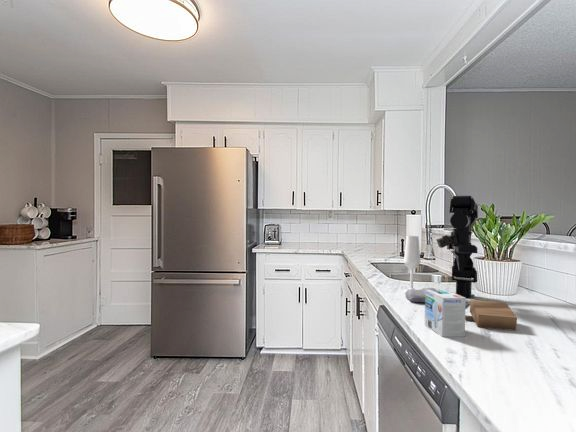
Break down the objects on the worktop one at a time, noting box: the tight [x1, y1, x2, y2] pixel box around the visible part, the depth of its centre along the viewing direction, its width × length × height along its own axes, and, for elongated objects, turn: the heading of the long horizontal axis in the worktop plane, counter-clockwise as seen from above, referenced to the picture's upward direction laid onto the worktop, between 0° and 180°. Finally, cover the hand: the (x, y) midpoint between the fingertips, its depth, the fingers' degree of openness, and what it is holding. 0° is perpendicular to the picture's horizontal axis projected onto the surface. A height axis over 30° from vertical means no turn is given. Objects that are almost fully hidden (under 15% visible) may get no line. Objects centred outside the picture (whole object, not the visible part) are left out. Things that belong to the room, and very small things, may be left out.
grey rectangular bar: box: [465, 314, 475, 322], centre depth 109 cm, size 2×14×1 cm, turn 75°
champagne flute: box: [403, 235, 421, 293], centre depth 149 cm, size 7×7×24 cm
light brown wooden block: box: [469, 299, 518, 331], centre depth 107 cm, size 4×10×10 cm
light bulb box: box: [424, 289, 467, 338], centre depth 100 cm, size 11×7×11 cm, turn 5°
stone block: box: [404, 287, 438, 303], centre depth 134 cm, size 12×5×10 cm
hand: (460, 270), depth 131 cm, fingers closed
